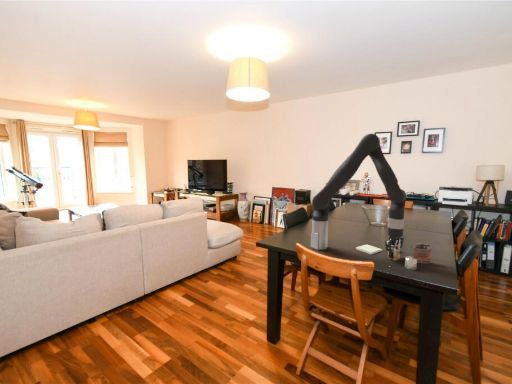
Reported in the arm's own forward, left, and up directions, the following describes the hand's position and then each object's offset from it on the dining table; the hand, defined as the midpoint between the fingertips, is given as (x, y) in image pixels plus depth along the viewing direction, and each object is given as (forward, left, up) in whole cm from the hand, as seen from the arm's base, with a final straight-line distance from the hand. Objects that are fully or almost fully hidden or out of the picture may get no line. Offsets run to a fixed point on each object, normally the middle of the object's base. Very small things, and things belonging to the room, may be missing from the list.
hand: (393, 257), depth 136 cm
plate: (0, +15, -1) cm, 15 cm away
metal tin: (-4, -11, -1) cm, 12 cm away
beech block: (0, 0, -1) cm, 1 cm away
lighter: (+8, -10, -1) cm, 13 cm away
